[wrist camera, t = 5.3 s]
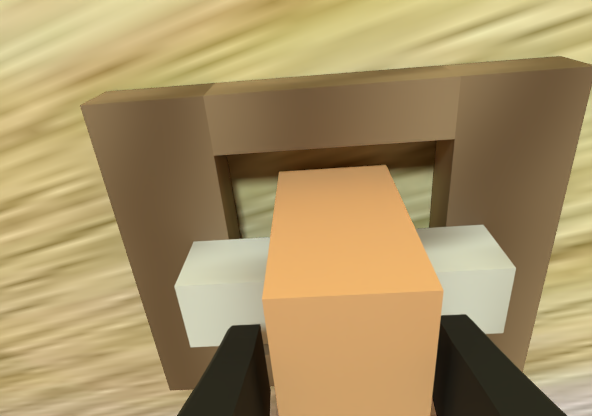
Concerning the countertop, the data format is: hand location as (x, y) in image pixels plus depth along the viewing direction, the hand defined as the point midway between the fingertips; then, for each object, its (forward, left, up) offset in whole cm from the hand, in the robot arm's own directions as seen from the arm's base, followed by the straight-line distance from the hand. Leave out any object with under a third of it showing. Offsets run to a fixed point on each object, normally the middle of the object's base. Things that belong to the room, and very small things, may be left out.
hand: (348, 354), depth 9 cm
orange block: (0, 0, -4) cm, 4 cm away
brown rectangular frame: (0, 0, -5) cm, 5 cm away
